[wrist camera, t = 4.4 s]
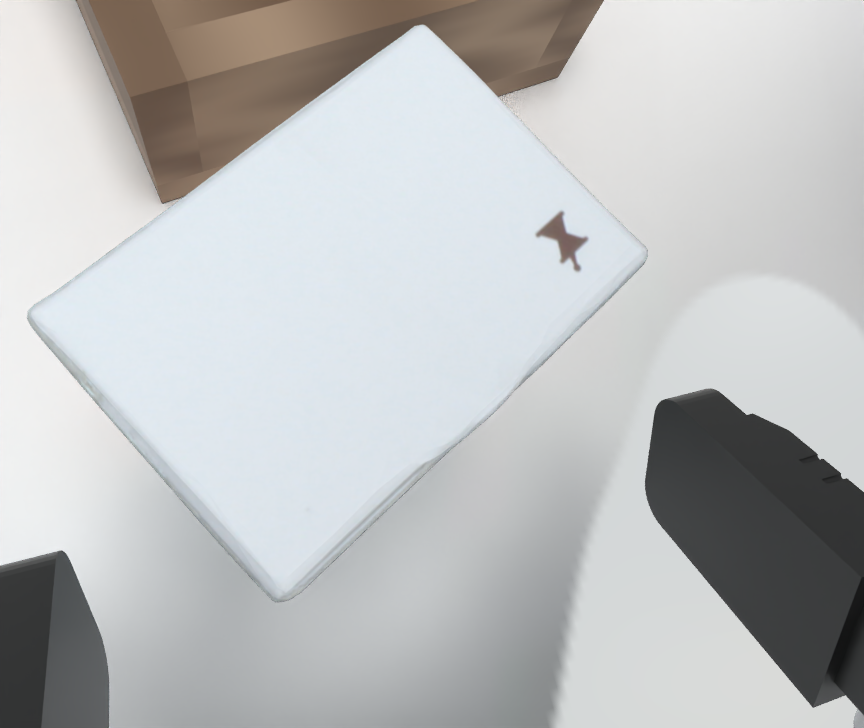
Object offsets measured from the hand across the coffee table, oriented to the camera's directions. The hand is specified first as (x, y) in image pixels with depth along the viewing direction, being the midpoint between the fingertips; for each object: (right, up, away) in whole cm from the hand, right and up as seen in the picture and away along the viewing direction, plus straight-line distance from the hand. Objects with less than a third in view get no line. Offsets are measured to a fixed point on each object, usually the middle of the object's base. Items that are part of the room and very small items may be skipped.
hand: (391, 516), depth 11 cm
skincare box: (-2, 0, +10) cm, 10 cm away
